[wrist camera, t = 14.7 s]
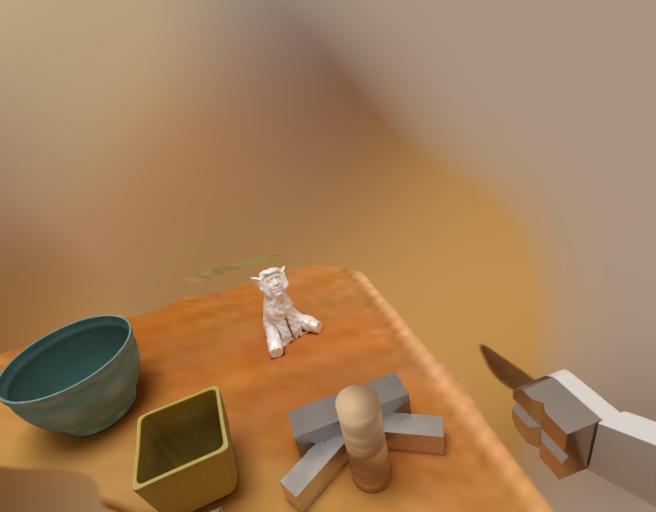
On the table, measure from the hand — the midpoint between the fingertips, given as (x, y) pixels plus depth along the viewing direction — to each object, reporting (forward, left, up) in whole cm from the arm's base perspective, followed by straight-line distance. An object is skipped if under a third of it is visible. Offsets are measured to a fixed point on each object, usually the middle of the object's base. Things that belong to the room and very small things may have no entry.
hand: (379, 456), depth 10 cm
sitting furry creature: (-1, +45, -30) cm, 54 cm away
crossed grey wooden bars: (+3, +21, -30) cm, 37 cm away
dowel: (+3, +18, -30) cm, 35 cm away
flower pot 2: (-14, +24, -30) cm, 41 cm away
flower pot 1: (-29, +42, -30) cm, 59 cm away
